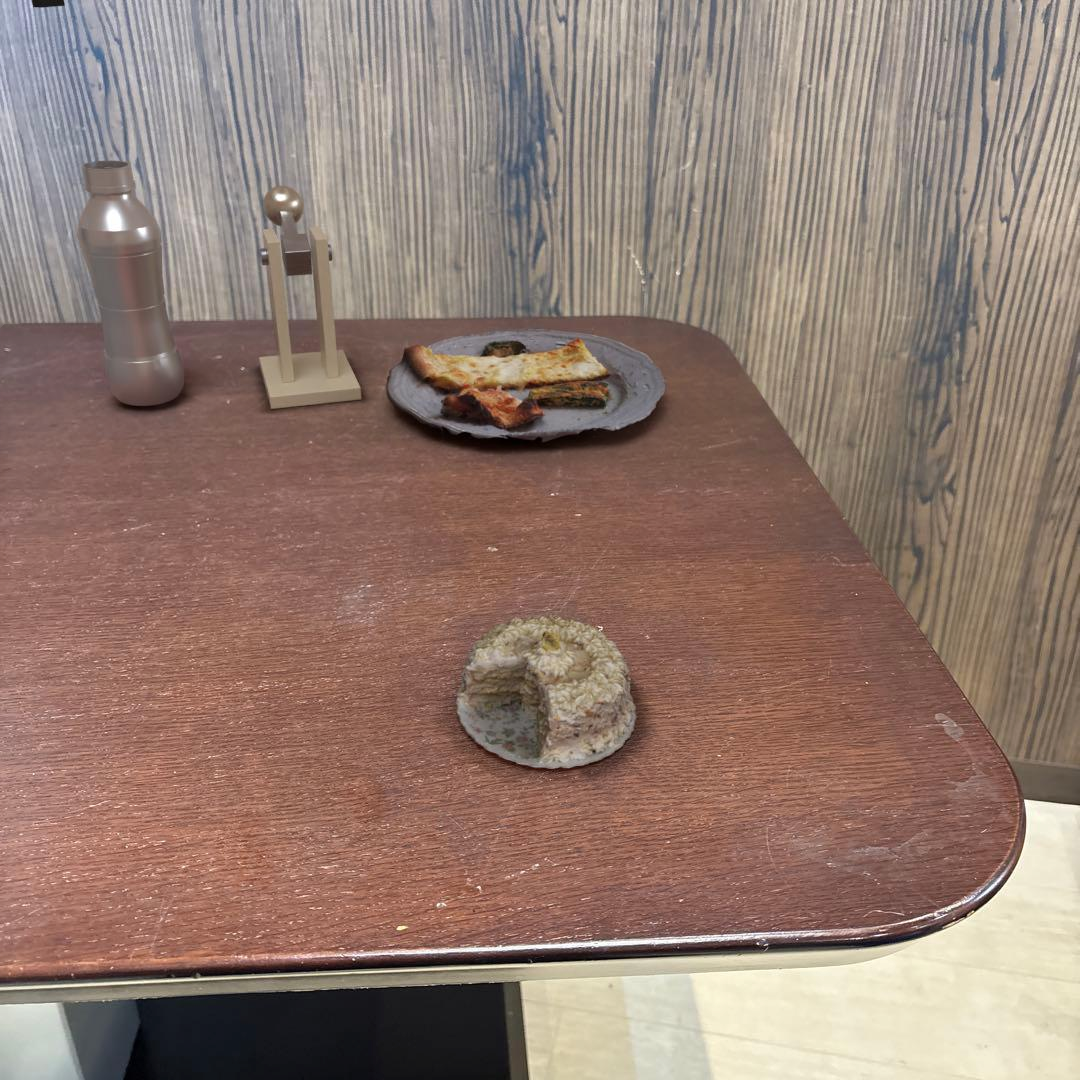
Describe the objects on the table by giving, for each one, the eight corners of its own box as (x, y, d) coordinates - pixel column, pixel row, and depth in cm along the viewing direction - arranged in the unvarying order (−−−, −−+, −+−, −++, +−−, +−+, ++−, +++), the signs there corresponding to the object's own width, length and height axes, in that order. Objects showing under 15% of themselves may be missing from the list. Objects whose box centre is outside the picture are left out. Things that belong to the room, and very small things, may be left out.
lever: (262, 214, 94) (259, 178, 92) (301, 212, 95) (299, 177, 93) (279, 283, 88) (275, 246, 85) (320, 280, 89) (319, 244, 86)
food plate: (396, 464, 80) (394, 424, 78) (378, 359, 99) (376, 325, 98) (695, 444, 84) (700, 406, 83) (622, 347, 104) (625, 314, 102)
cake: (524, 640, 61) (531, 563, 59) (668, 707, 57) (682, 626, 54) (416, 717, 54) (419, 633, 51) (571, 801, 49) (583, 713, 47)
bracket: (260, 368, 97) (241, 222, 90) (343, 360, 99) (332, 217, 92) (271, 409, 89) (251, 252, 81) (361, 399, 91) (350, 245, 84)
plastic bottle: (152, 380, 93) (110, 153, 83) (204, 396, 91) (168, 163, 80) (94, 403, 89) (42, 165, 78) (147, 421, 86) (100, 177, 75)
